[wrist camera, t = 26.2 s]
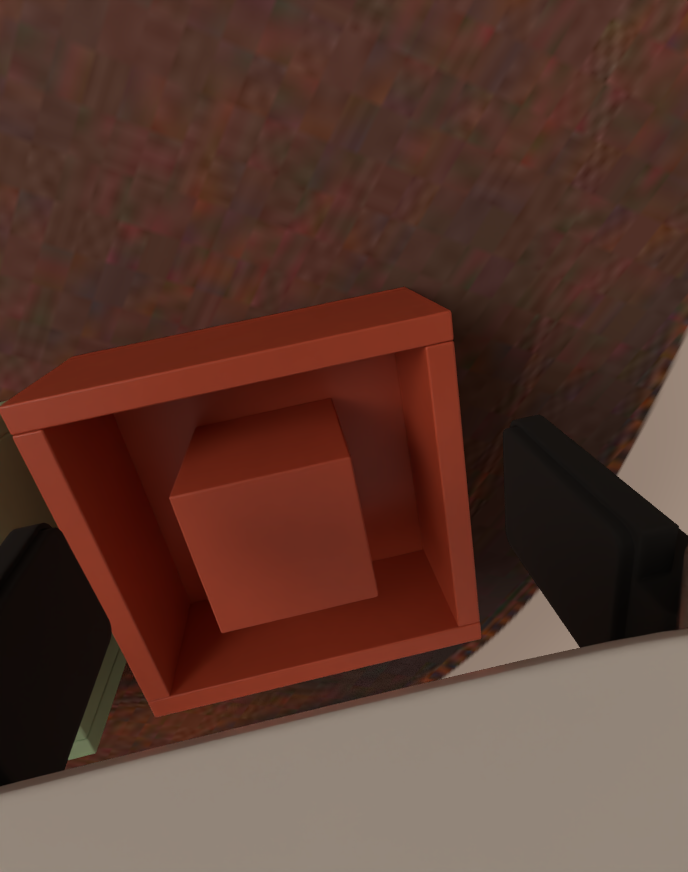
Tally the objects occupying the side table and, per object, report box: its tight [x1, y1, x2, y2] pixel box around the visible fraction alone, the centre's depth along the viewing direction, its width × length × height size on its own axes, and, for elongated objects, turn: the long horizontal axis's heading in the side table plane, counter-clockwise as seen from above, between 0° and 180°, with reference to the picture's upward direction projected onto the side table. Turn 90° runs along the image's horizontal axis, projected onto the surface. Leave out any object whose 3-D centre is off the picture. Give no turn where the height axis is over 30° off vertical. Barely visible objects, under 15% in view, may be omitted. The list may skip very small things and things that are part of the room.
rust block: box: [169, 398, 378, 633], centre depth 17 cm, size 5×5×5 cm
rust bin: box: [0, 287, 481, 717], centre depth 17 cm, size 12×12×5 cm
